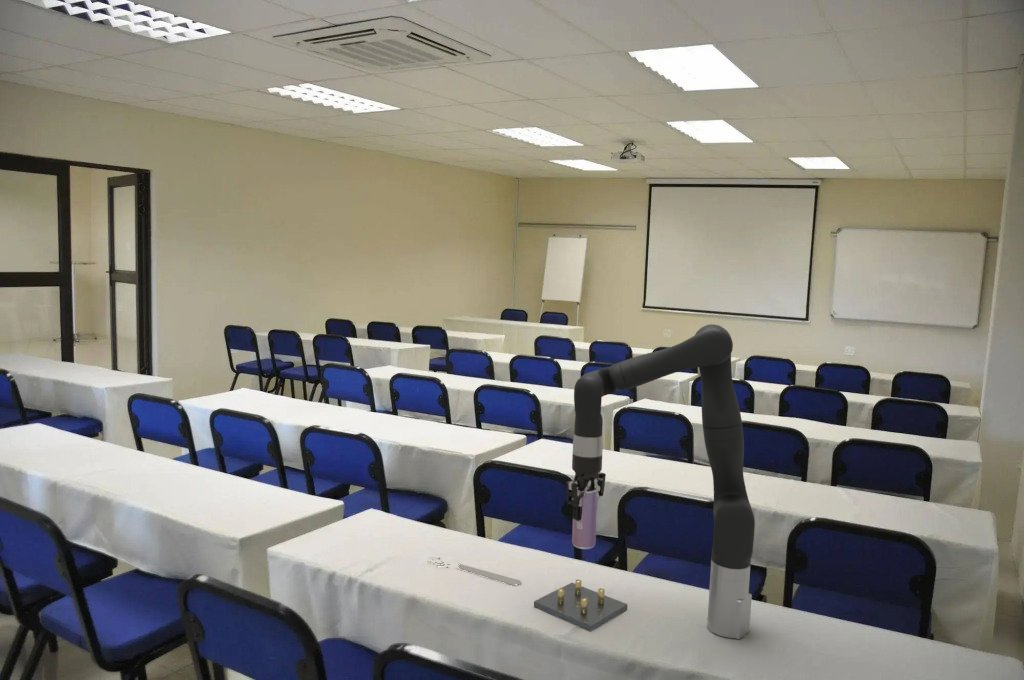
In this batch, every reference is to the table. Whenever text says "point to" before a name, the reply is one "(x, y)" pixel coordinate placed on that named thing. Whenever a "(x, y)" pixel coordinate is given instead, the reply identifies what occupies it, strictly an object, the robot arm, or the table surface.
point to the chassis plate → (575, 607)
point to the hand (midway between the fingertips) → (584, 516)
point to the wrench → (487, 574)
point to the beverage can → (586, 522)
